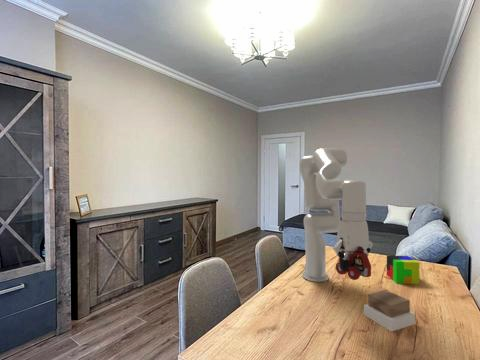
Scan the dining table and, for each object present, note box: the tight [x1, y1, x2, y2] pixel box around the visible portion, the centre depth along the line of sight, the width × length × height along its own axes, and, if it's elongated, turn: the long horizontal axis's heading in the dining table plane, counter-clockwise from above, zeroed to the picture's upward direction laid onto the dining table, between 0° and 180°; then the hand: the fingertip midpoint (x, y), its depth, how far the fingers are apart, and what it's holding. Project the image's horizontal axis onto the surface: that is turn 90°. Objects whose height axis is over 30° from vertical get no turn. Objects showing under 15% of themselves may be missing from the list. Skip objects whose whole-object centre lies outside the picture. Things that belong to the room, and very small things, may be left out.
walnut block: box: [367, 289, 411, 318], centre depth 92 cm, size 9×9×4 cm
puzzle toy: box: [386, 255, 420, 285], centre depth 127 cm, size 10×10×10 cm
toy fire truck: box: [335, 247, 372, 281], centre depth 90 cm, size 7×12×10 cm, turn 26°
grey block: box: [363, 303, 416, 332], centre depth 92 cm, size 11×11×4 cm
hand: (353, 268), depth 90 cm, fingers closed on toy fire truck, 7 cm apart
